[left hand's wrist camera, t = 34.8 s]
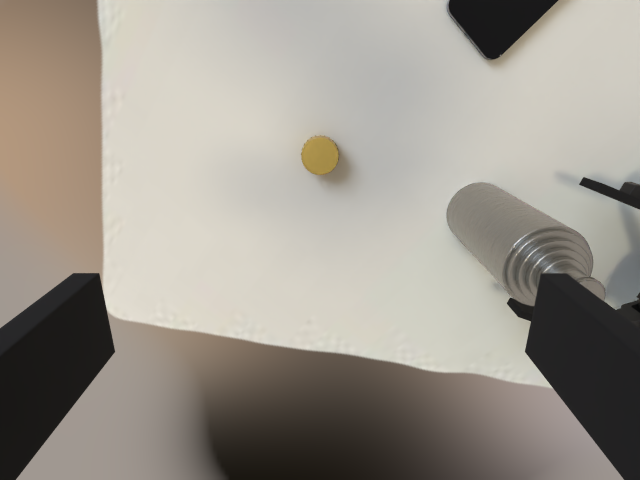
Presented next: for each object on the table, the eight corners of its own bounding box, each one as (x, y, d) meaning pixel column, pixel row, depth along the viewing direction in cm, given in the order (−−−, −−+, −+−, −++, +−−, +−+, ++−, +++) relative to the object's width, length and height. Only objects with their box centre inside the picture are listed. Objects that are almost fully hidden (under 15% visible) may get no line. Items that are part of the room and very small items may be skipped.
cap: (326, 127, 42) (326, 129, 41) (345, 159, 44) (346, 162, 42) (294, 147, 43) (293, 150, 41) (314, 178, 44) (314, 182, 42)
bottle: (503, 240, 47) (625, 341, 28) (444, 241, 47) (525, 343, 28) (512, 181, 44) (650, 249, 26) (449, 183, 44) (542, 251, 26)
